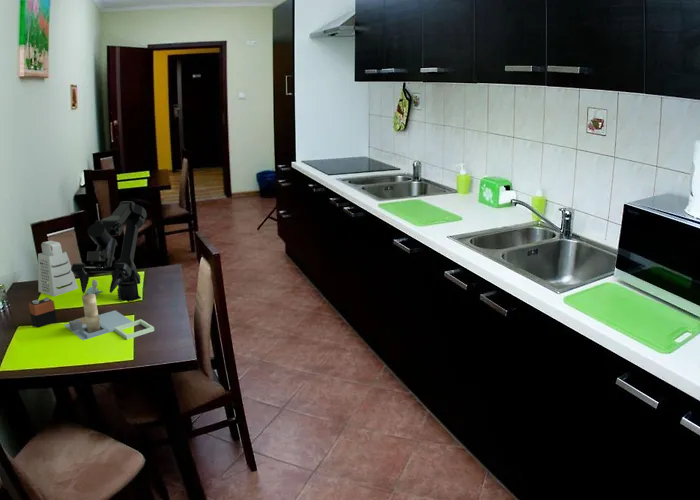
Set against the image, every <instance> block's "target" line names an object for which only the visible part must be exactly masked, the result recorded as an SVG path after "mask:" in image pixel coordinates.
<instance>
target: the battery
mask: <svg viewBox="0 0 700 500" xmlns="http://www.w3.org/2000/svg"><path fill="white" fill-rule="evenodd" d="M28 307H29V313H30V319H31V324H32V327H34V328H42V327H45V326H48V325H51V324H55V323H57V322H58V320H57V319H58V318H57V313H56V308H55V307H56V306H55V302H54V300H53V299H51V298H49V297H44V298H43V299H40V300H39V299H34V300H32V302H30V303H28Z"/></svg>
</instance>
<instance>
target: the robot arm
mask: <svg viewBox="0 0 700 500" xmlns="http://www.w3.org/2000/svg"><path fill="white" fill-rule="evenodd" d="M147 216H148V215H147V210H146V209H145V208H144V207H143V206H141V205H139V204H137V203H135V202H134V201H120V202H119V204H118V206H117V208H115V210H114V211H113V213H112V214H111V215H110V216H107V217H103V218H102V219H101V220H95V222H94V223H93V224H91V225H89V227H88V228H87V229H86V230H87V235H88V236H89V238H91V240H92V241H93V242H94V244H96V245H97V248H96V250H94V251H92V250H91V251H87V253H86V254H87V255H86V261H87V262H90V265H92V266H87V265H86V263H84V262H76V263H73V264H72V265H71V271H72V272H73V274H74V276H76V277H77V278H79V282H80V286H81V287H80V288H81V292H82V294H85V293H86V292H87V289H88V283H89V280H90V277H89V276H90V273H111V278H112V279H111V282H110V286H109V293H110V294H112V293H113V292H114V291H115V289H117V296H118V297H117V298H118V300H120V301H121V302H131V301H136V300H139V299H141V298H142V297H141V296H140V294H139V287H138V285H139V284H141V275H140V273H138V271H137V267H136V265H135V263H134V259H135V253H136V247H137V241H138V235H139V229H141V228H142V227H143V226H144V223H145V221H146V218H147ZM123 224H125V230H124V225H123ZM123 230H124V235H123V241H122V242H123V243H122V247H121V251H120V252H121V253H120V258H119V259H118V260H116V259H115V256H114V255H115V251H116V247H117V246H118V242H117V239H116V238H115V236H117V237H118V236H120V235H122V233H123ZM113 261H114V262H113ZM117 287H118V288H117Z"/></svg>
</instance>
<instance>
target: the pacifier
mask: <svg viewBox="0 0 700 500" xmlns="http://www.w3.org/2000/svg"><path fill="white" fill-rule="evenodd" d="M97 286H98V280H97V279H92V282H91V286H90V287H87V288H86V292H85V293H84V295H86V294H95V296H96V297H98V296H99V294H101V293H102V292H104V291H103V290H99V288H97Z"/></svg>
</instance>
